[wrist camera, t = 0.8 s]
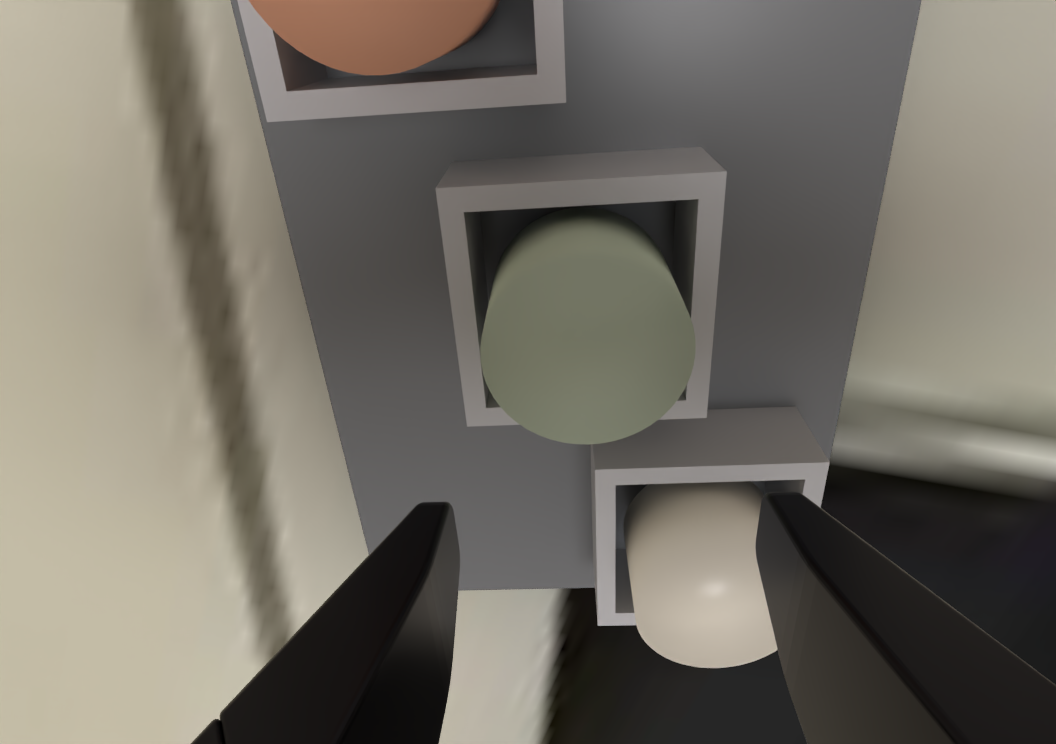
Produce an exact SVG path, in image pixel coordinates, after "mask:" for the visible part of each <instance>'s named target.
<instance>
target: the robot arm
mask: <svg viewBox="0 0 1056 744" xmlns="http://www.w3.org/2000/svg"><path fill="white" fill-rule="evenodd" d="M755 549H756V558H757V564H758V568H759V572H760V576H761V581H762V585H763V589H764V593H765V598H766V602H767V606H768V610H769V615H770V619H771V623H772V627H773V632H774V636H775V640H776V644H777V649H778V653H779V657H780V661H781V665H782V669H783V673H784V677H785V680H786V683H787V686H788V689H789V692H790V696H791V699H792V701H793V704H794V707H795V710H796V713H797V715H798V718H799V721H800V724H801V727H802V729H803V732H804V735H805V738H806V741H807V743H808V744H1056V685H1055V684H1054V683H1052V682H1051V681H1050V680H1048V679H1047V678H1046V677H1044V676H1043V675H1042V674H1040V673H1039V672H1038V671H1037V670H1035V669H1034V668H1033V667H1031V666H1030V665H1029V664H1027V663H1026V662H1025V661H1023V660H1022V659H1021V658H1019V657H1018V656H1017V655H1015V654H1014V653H1013V652H1011V651H1010V650H1009V649H1007V648H1006V647H1005V646H1003V645H1002V644H1001V643H999V642H998V641H997V640H995V639H994V638H993V637H991V636H990V635H989V634H987V633H986V632H985V631H983V630H982V629H981V628H979V627H978V626H977V625H975V624H974V623H973V622H971V621H970V620H969V619H968V618H966V617H965V616H964V615H962V614H961V613H960V612H958V611H957V610H956V609H954V608H953V607H952V606H950V605H949V604H948V603H946V602H945V601H944V600H942V599H941V598H940V597H938V596H937V595H936V594H934V593H933V592H932V591H930V590H929V589H928V588H926V587H925V586H924V585H922V584H921V583H920V582H918V581H917V580H916V579H914V578H913V577H912V576H910V575H909V574H908V573H906V572H905V571H904V570H902V569H901V568H900V567H899V566H897V565H896V564H895V563H893V562H892V561H891V560H889V559H888V558H887V557H885V556H884V555H883V554H881V553H880V552H879V551H877V550H876V549H875V548H873V547H872V546H871V545H869V544H868V543H867V542H865V541H864V540H863V539H861V538H860V537H859V536H857V535H856V534H855V533H853V532H852V531H851V530H849V529H848V528H847V527H845V526H844V525H843V524H841V523H840V522H839V521H837V520H836V519H835V518H834V517H832V516H831V515H830V514H828V513H827V512H826V511H824V510H823V509H822V508H820V507H819V506H818V505H816V504H815V503H814V502H812V501H811V500H810V499H808V498H807V497H806V496H804V495H803V494H801V493H799V492H794V491H791V492H768V493H767V494H765V495H764V496H763V498H762V501H761V507H760V514H759V521H758V528H757V535H756V545H755ZM459 574H460V549H459V542H458V536H457V529H456V523H455V517H454V511H453V507H452V505H451V504H450V503H449V502H422V503H419V504H418V505H416V506H415V507H414V508H413V509H412V510H411V511H410V512H409V513H408V514H407V516H406V517H405V518H404V519H403V520H402V521H401V522H400V523H399V524H398V525H397V526H396V527H395V528H394V529H393V530H392V531H391V532H390V534H389V535H388V536H387V537H386V538H385V539H384V540H383V541H382V542H381V543H380V544H379V545H378V546H377V547H376V548H375V549H374V551H373V552H372V553H371V554H370V555H369V556H368V557H367V558H366V559H365V560H364V561H363V562H362V563H361V564H360V565H359V566H358V567H357V569H356V570H355V571H354V572H353V573H352V574H351V575H350V576H349V577H348V578H347V579H346V580H345V581H344V582H343V583H342V584H341V585H340V587H339V588H338V589H337V590H336V591H335V592H334V593H333V594H332V595H331V596H330V597H329V598H328V599H327V600H326V601H325V602H324V603H323V605H322V606H321V607H320V608H319V609H318V610H317V611H316V612H315V613H314V614H313V615H312V616H311V617H310V618H309V619H308V620H307V622H306V623H305V624H304V625H303V626H302V627H301V628H300V629H299V630H298V631H297V632H296V633H295V634H294V635H293V636H292V637H291V638H290V640H289V641H288V642H287V643H286V644H285V645H284V646H283V647H282V648H281V649H280V650H279V651H278V652H277V653H276V654H275V655H274V656H273V658H272V659H271V660H270V661H269V662H268V663H267V664H266V665H265V666H264V667H263V668H262V669H261V670H260V671H259V672H258V673H257V675H256V676H255V677H254V678H253V679H252V680H251V681H250V682H249V683H248V684H247V685H246V686H245V687H244V688H243V689H242V690H241V691H240V693H239V694H238V695H237V696H236V697H235V698H234V699H233V700H232V701H231V702H230V703H229V704H228V705H227V706H226V707H225V708H224V709H223V711H222V712H221V713H220V720H219V719H215V720H213V721H212V722H211V723H210V724H209V725H208V726H207V727H206V728H205V729H204V730H203V731H202V732H201V733H200V735H199V736H198V737H197V738H196V739H195V740H194V741H193V742H192V743H191V744H438V743H439V738H440V733H441V728H442V723H443V718H444V713H445V708H446V703H447V698H448V692H449V686H450V679H451V670H452V660H453V648H454V636H455V623H456V611H457V599H458V586H459Z"/></svg>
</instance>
